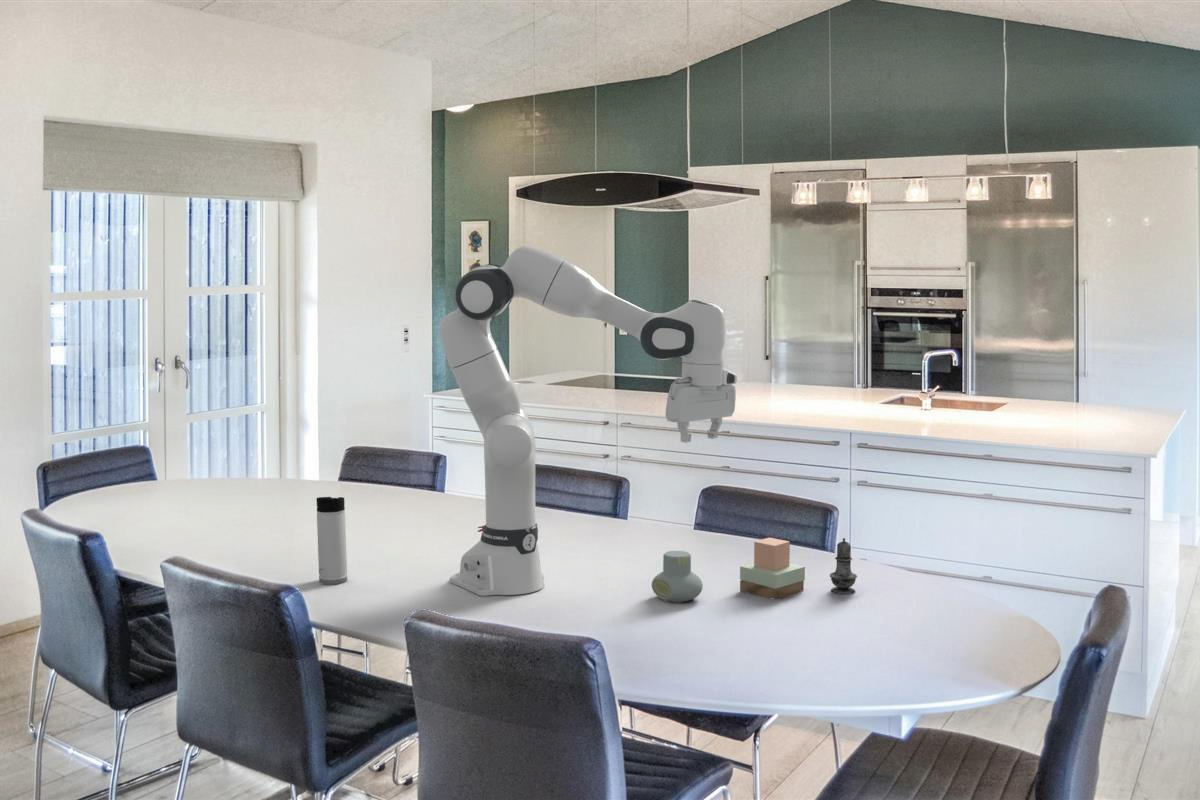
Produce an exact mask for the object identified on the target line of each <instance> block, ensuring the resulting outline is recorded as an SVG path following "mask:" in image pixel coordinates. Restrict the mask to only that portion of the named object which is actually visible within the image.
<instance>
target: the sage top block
mask: <svg viewBox="0 0 1200 800" xmlns="http://www.w3.org/2000/svg"><path fill="white" fill-rule="evenodd" d="M805 574H806V567H805V566H804V565H799V564H795V563H790V562H789V566H788V567H785V568H782V569H779V570H775V571H773V570H769V569H764V568H760V567H755V566H754V562H751V563H747V564H744V565H740V566H739V580H740V581H741V580H744V581H747V582H751V583H755V584H759V585H763V586H767V587H771V588H775V589H777V588H780V587H783V586H787V585H790V584H793V583H797V582H800V581H803V580H804V581H805V580H806V579H805V578H806V577H805V576H806V575H805Z"/></svg>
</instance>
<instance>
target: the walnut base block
mask: <svg viewBox="0 0 1200 800" xmlns="http://www.w3.org/2000/svg"><path fill="white" fill-rule="evenodd" d="M804 584H805V580H803V581H800V582H797V583H793V584H790V585H787V586H783V587H780V588H777V589H775V588H771V587H767V586H763V585H759V584H755V583H751V582H747V581H744V580H740V581H739V587H740V588H739V592H740V593H745V594H749V595H754V596H759V597H764V598H768V599H771V600H777V601H780V600H784V599H785V598H788V597H790V596H793V595H794V594H795V595H796V594H797V593H800V592H802V591H804V589H805V588H804Z"/></svg>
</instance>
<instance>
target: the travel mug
mask: <svg viewBox="0 0 1200 800" xmlns="http://www.w3.org/2000/svg"><path fill="white" fill-rule="evenodd" d="M345 502H346V501H345V497H342V496H340V497H339V496H338V497H332V496H319V497H316V528H317V533H316V534H317V551H318V553H317V555H318V556H317V559H318V580H319V582H318V583H320V584H321V585H325V586H326V585H327V586H328V585H329V586H331V585H332V586H333V585H340V584H344V583H346V582H347V581H348V562H347V561H348V559H347V558H348V557H347V535H346V534H347V531H346V528H347V527H346V507H345Z"/></svg>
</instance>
